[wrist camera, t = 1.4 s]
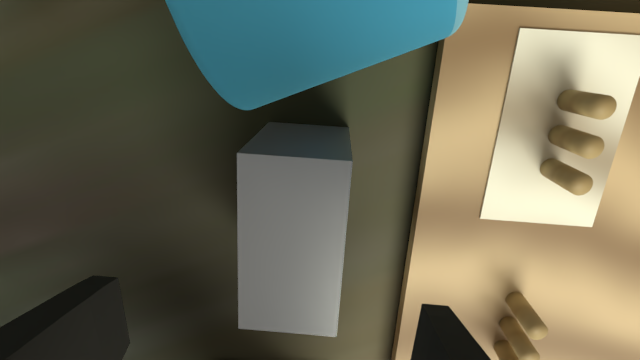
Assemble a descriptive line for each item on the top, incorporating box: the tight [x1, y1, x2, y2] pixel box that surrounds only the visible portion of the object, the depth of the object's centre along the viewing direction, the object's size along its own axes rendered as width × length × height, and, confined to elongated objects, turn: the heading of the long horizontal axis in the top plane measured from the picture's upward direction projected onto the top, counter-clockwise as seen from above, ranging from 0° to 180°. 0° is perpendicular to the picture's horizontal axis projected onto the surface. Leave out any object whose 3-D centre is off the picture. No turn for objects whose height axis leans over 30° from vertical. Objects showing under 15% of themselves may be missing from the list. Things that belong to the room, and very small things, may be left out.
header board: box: [391, 3, 640, 360], centre depth 18 cm, size 20×13×3 cm, turn 177°
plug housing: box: [237, 122, 353, 337], centre depth 16 cm, size 7×4×6 cm, turn 177°
